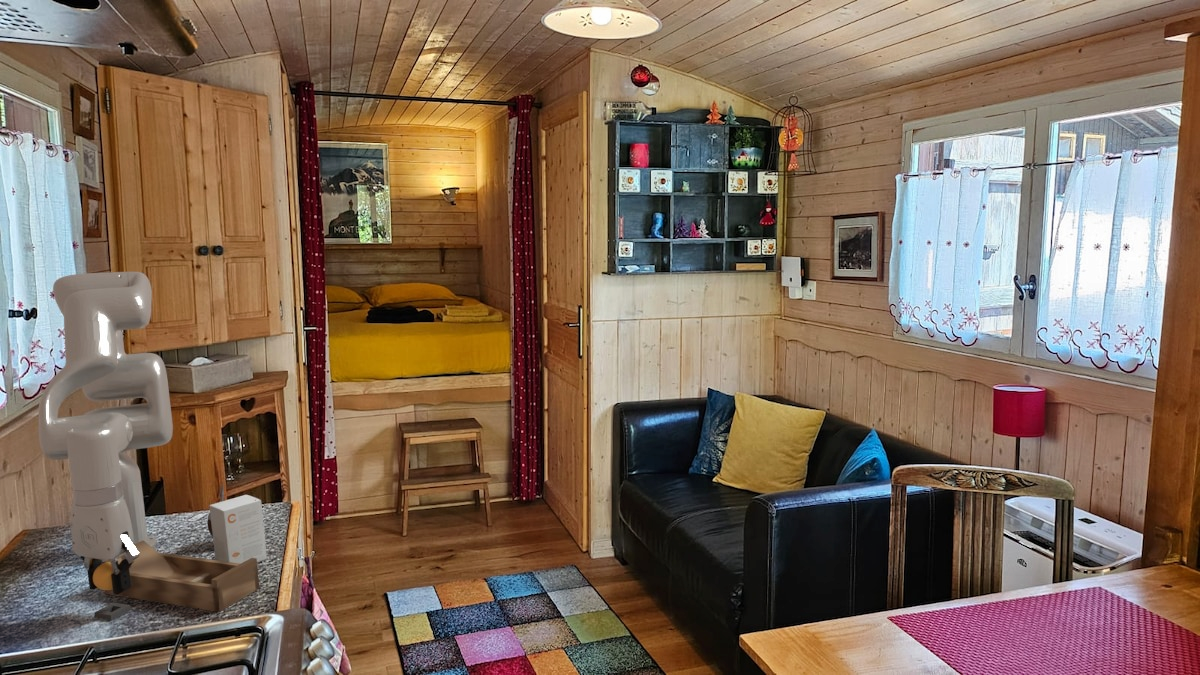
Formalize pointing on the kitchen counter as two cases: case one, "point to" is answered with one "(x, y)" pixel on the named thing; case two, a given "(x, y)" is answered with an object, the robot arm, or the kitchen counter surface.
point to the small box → (238, 529)
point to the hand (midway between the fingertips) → (110, 587)
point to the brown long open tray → (189, 579)
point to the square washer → (112, 611)
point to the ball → (103, 576)
